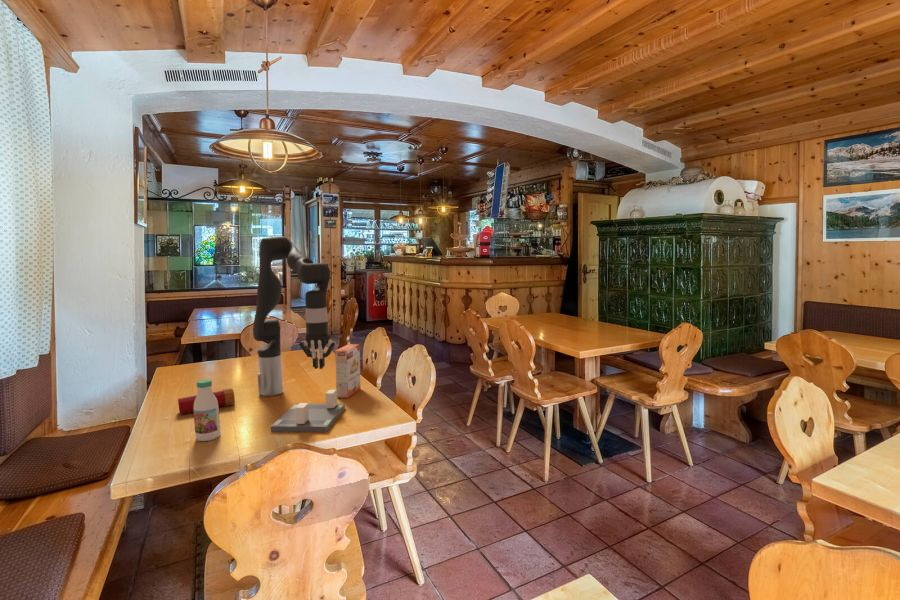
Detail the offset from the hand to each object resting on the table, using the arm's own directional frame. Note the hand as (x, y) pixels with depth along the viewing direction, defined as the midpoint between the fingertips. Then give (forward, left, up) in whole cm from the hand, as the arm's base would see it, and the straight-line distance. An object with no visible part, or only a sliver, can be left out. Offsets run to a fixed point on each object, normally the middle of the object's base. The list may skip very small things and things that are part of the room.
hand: (319, 368), depth 169 cm
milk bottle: (-37, -9, -22) cm, 44 cm away
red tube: (-53, +19, -23) cm, 61 cm away
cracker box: (0, +39, -22) cm, 45 cm away
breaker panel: (-7, +8, -22) cm, 24 cm away
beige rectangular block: (-7, 0, -20) cm, 21 cm away
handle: (-1, +16, -20) cm, 25 cm away
